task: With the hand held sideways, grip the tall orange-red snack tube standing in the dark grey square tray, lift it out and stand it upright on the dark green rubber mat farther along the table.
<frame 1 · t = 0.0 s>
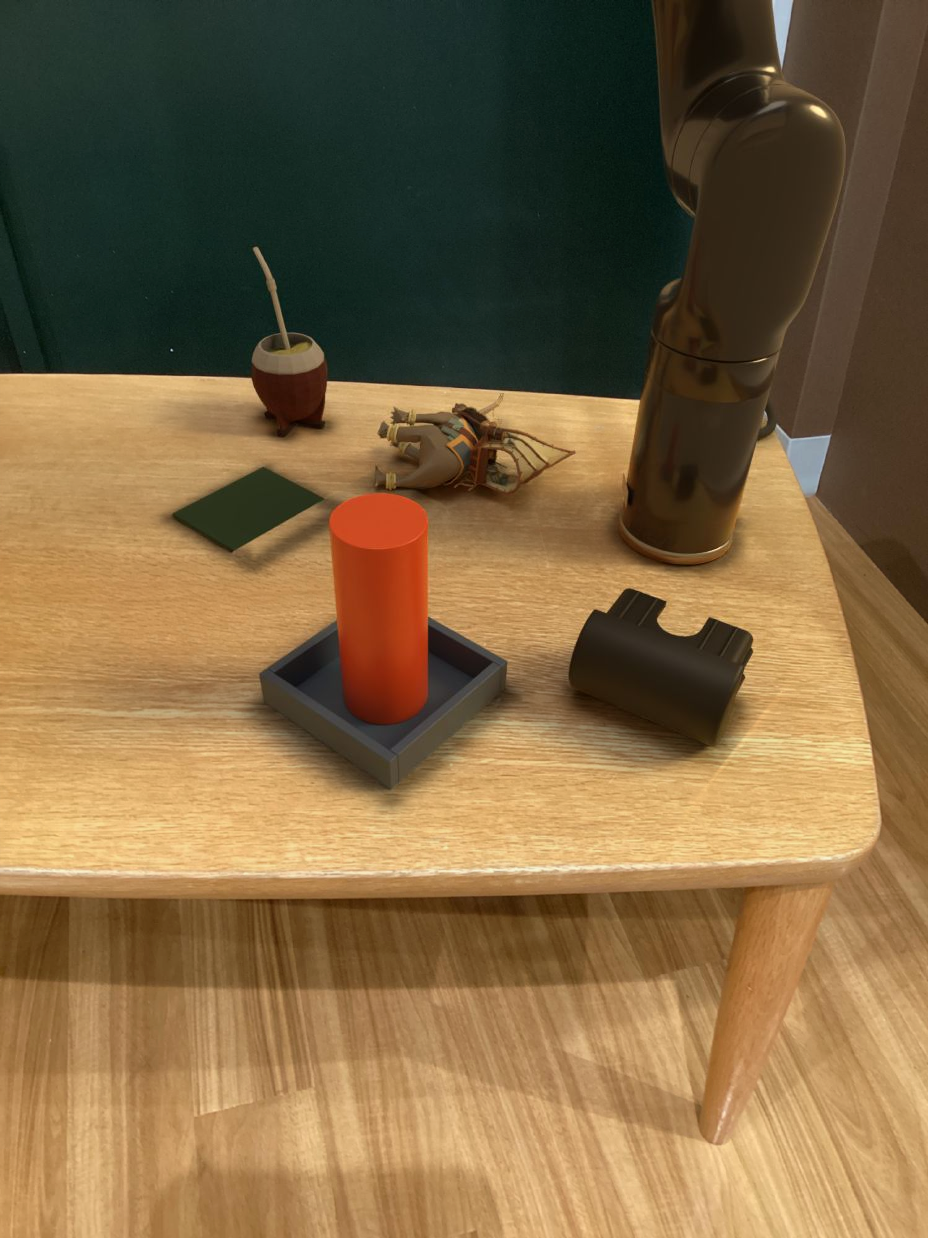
mat: (258, 514, 78), on the table
end cap: (651, 709, 62), on the table
figurine: (476, 477, 83), on the table
snack tube: (385, 694, 61), resting on dark grey square tray
mate gourd: (291, 421, 90), on the table
dark grey square tray: (386, 699, 62), on the table
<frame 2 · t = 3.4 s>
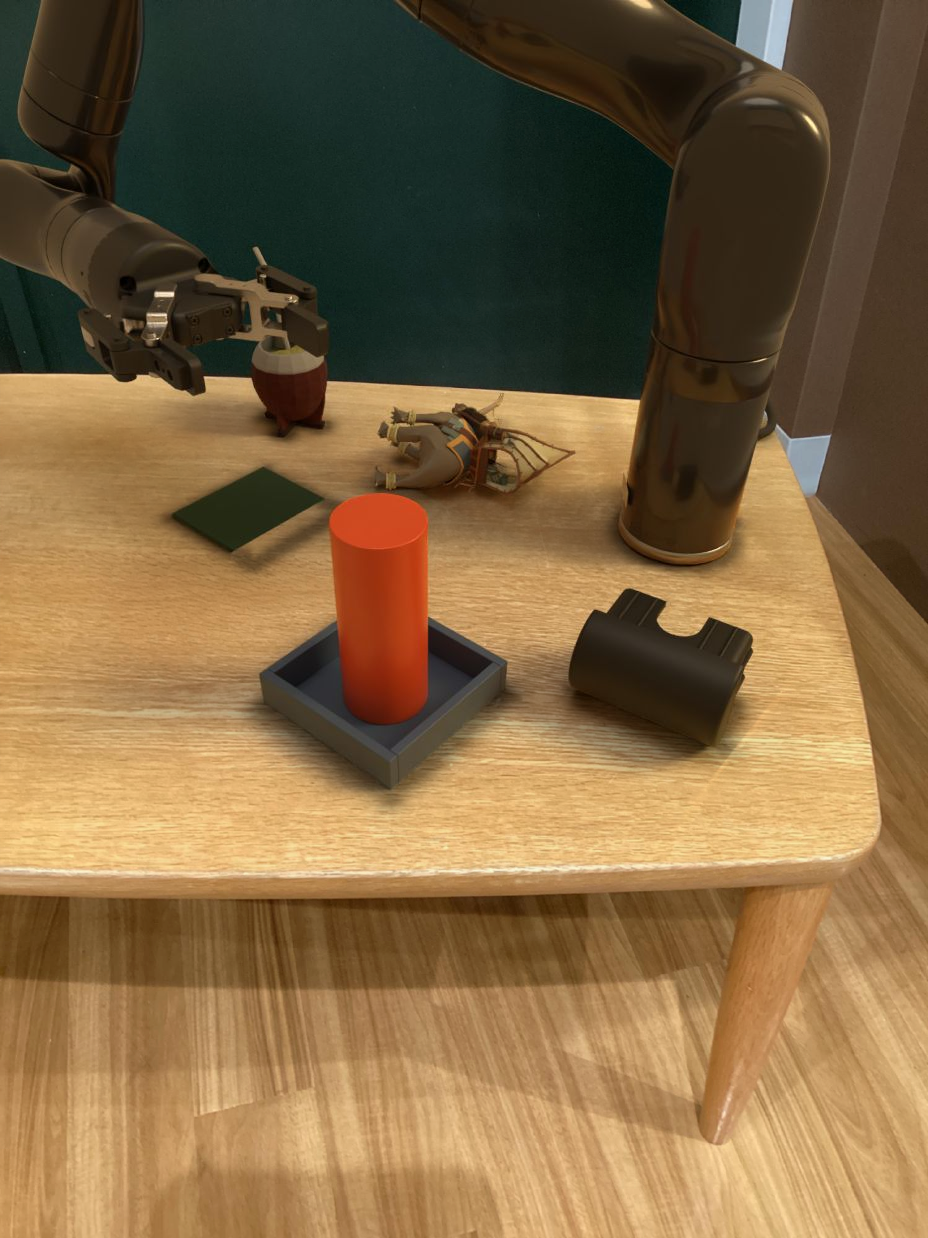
hand: (263, 359, 55), 20 cm above the table, tool horizontal, fingers open, 8 cm apart
nothing on the table moved.
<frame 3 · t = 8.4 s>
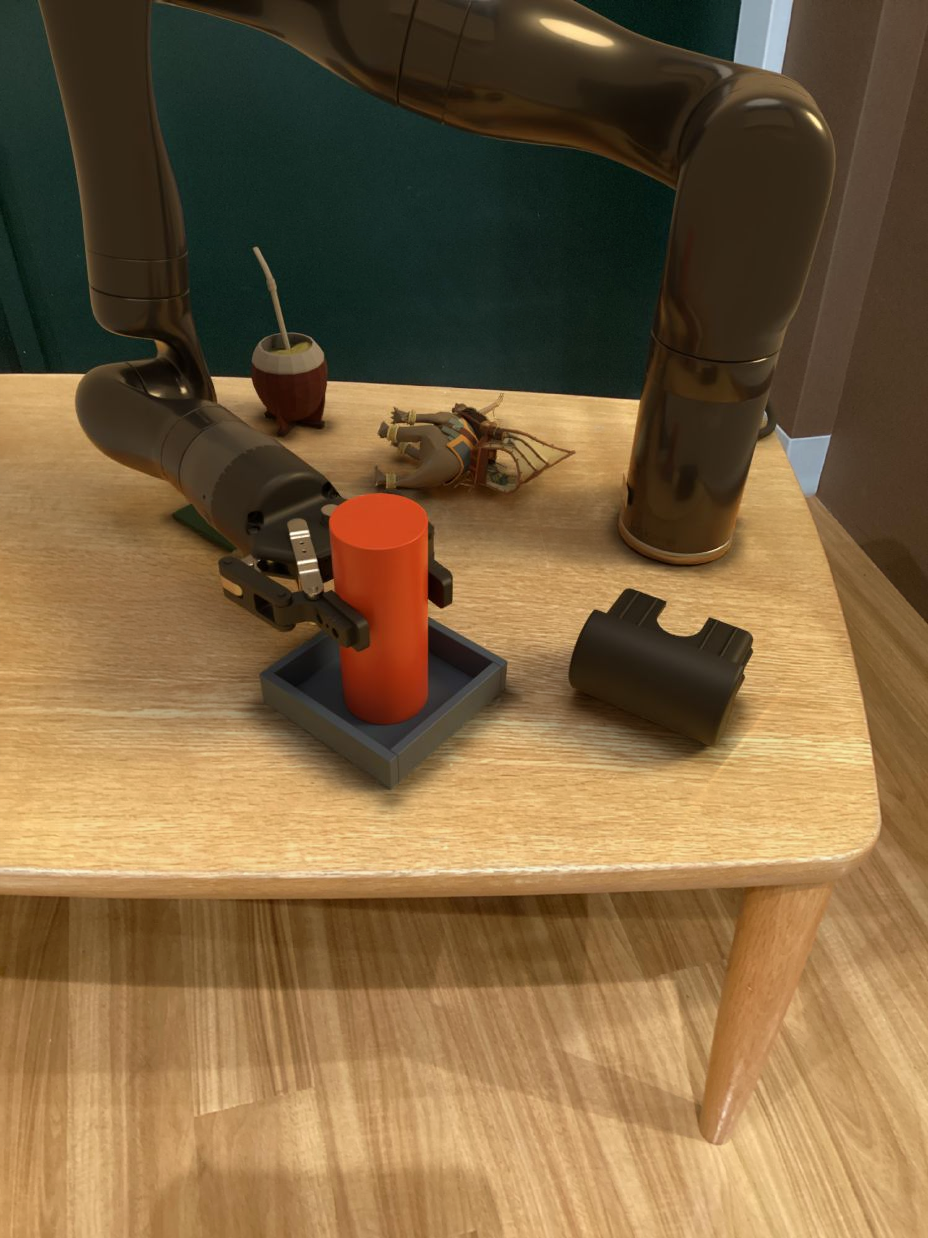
hand: (407, 615, 54), 9 cm above the table, tool horizontal, fingers closed on snack tube, 5 cm apart
snack tube: (385, 694, 61), point 1 cm above the table, touching dark grey square tray, gripper
everything else where it was.
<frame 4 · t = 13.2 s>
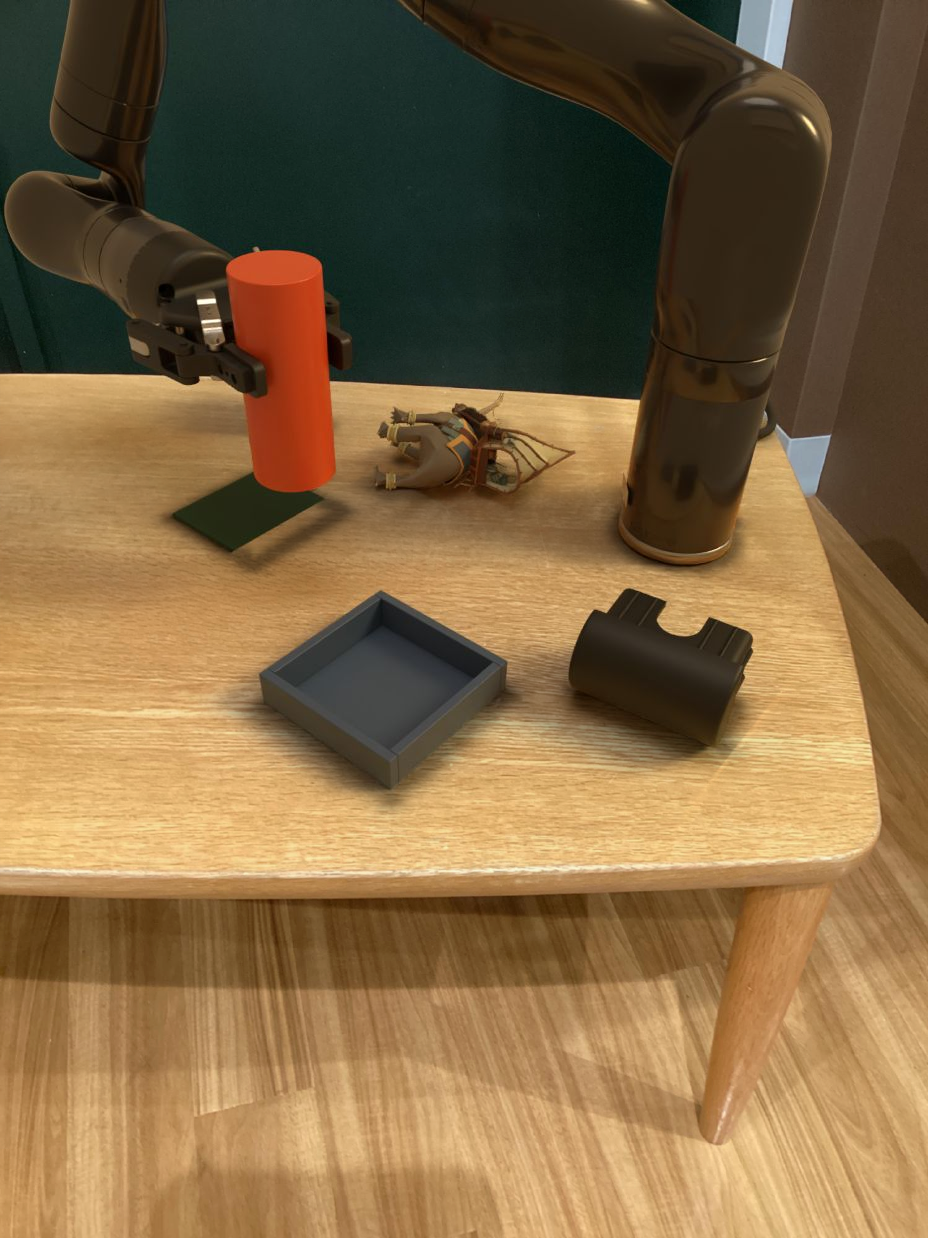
hand: (305, 367, 57), 19 cm above the table, tool horizontal, fingers closed on snack tube, 5 cm apart
snack tube: (295, 470, 64), point 10 cm above the table, touching gripper
everything else where it was.
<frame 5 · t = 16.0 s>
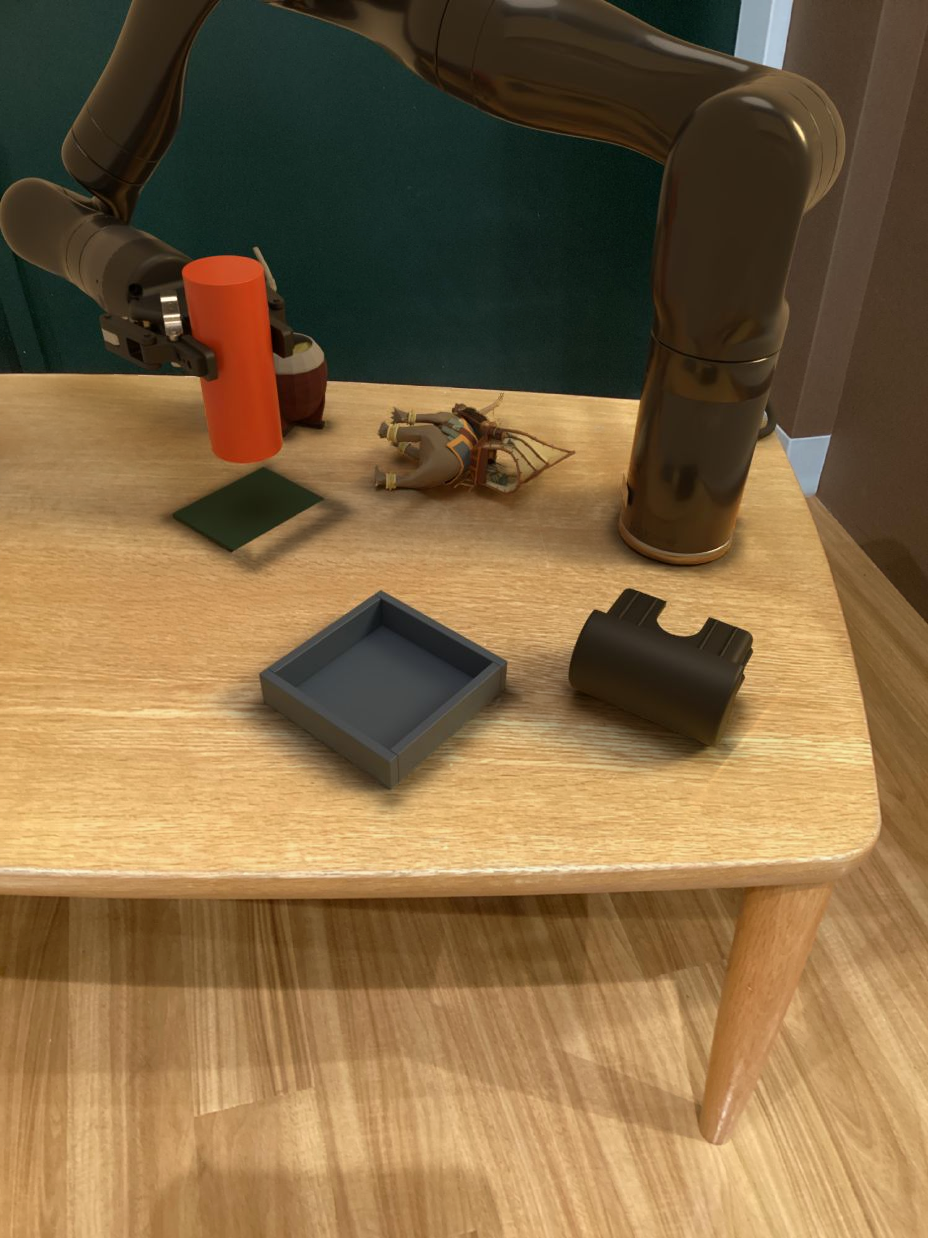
hand: (251, 355, 67), 15 cm above the table, tool horizontal, fingers closed on snack tube, 5 cm apart
snack tube: (247, 445, 74), point 7 cm above the table, touching gripper
everything else where it was.
when the fingers open (9 cm above the table, at t = 18.2 s): snack tube stays where it is, resting on mat.
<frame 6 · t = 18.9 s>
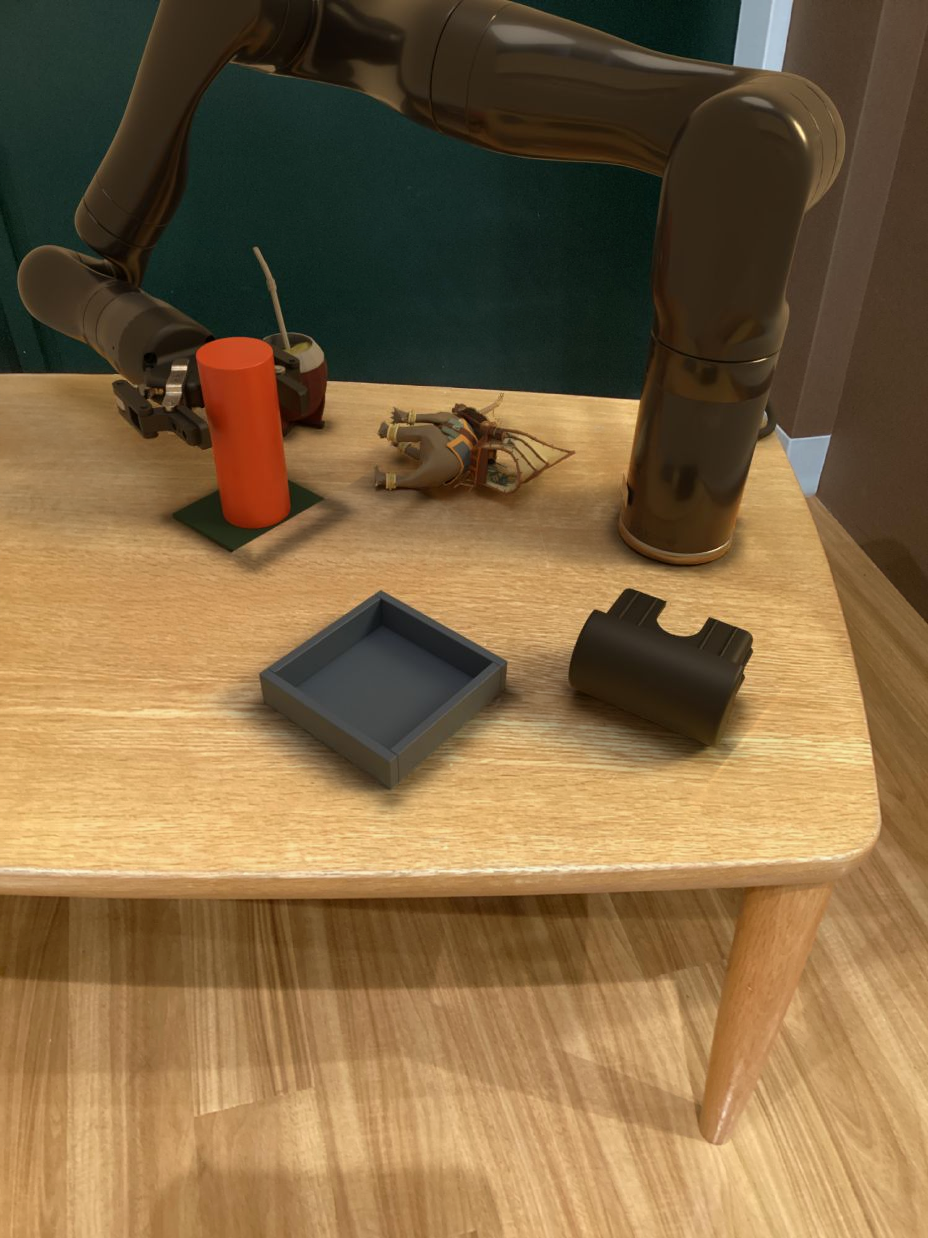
hand: (257, 420, 70), 10 cm above the table, tool horizontal, fingers open, 8 cm apart
snack tube: (257, 509, 78), resting on mat
everything else where it was.
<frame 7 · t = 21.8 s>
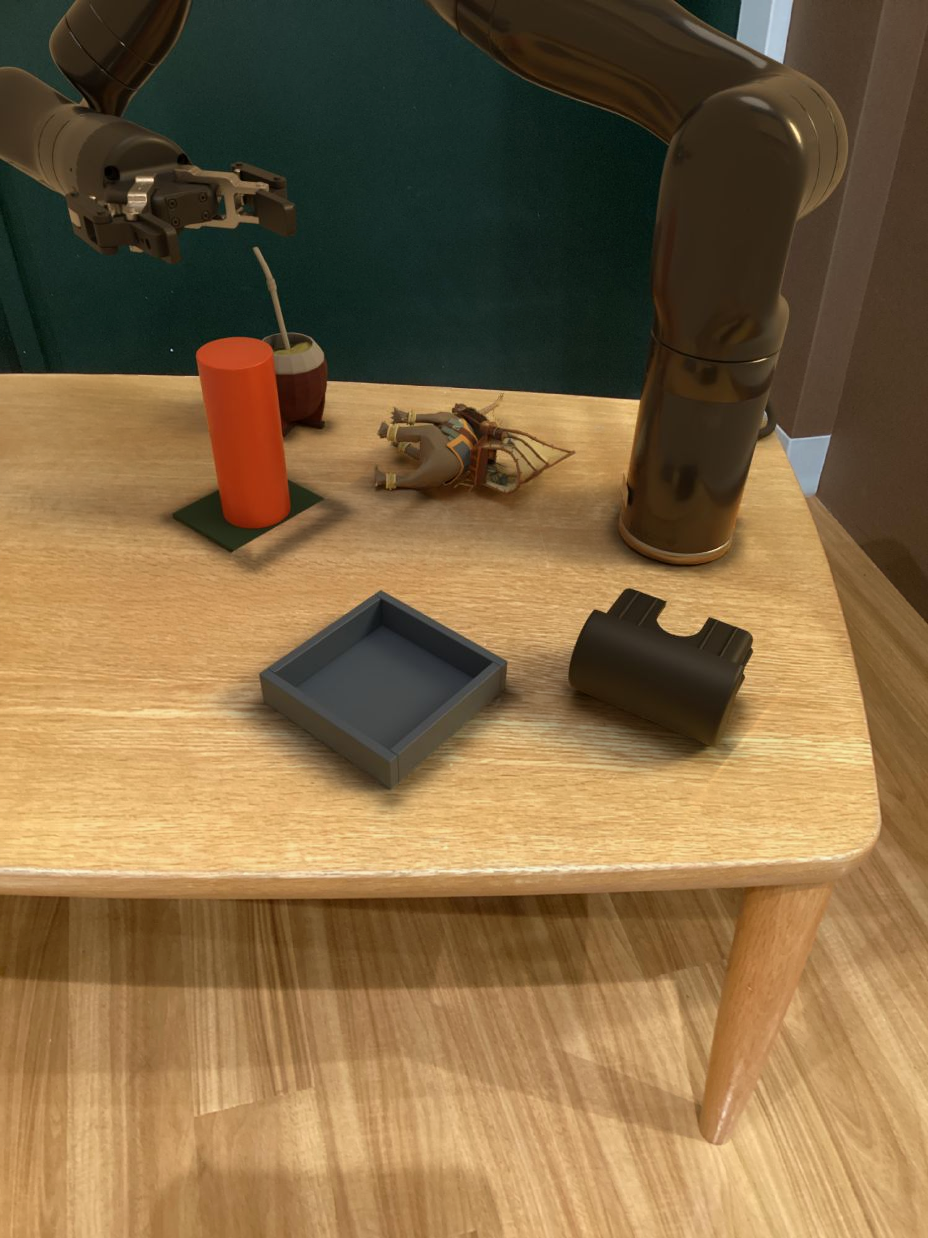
hand: (234, 233, 60), 24 cm above the table, tool horizontal, fingers open, 8 cm apart
nothing on the table moved.
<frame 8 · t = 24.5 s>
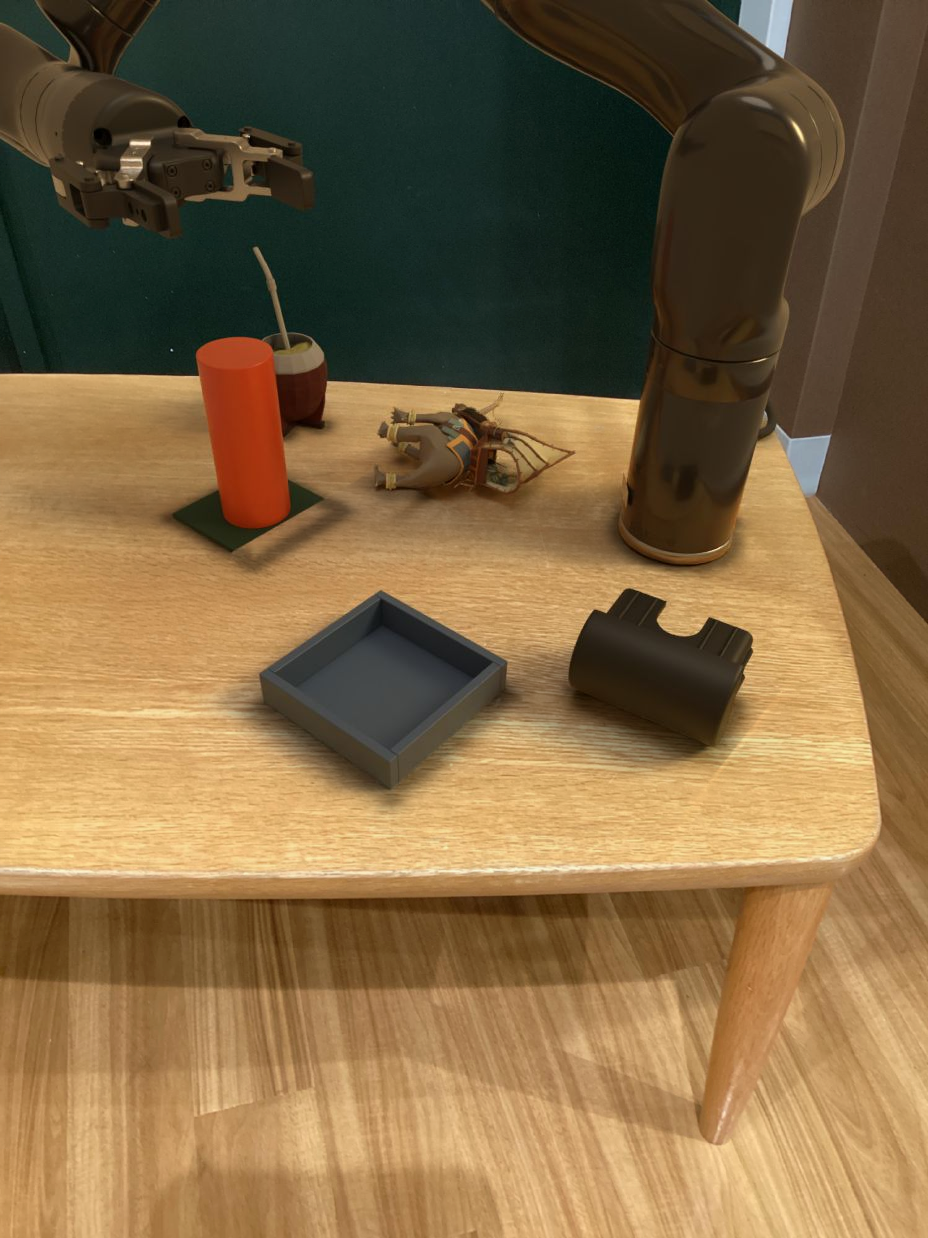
hand: (244, 204, 52), 28 cm above the table, tool horizontal, fingers open, 8 cm apart
nothing on the table moved.
at the end: snack tube 0.1 cm off-centre on the mat, point 0.4 cm above the mat's base; snack tube tilted 0°; snack tube touching mat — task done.
